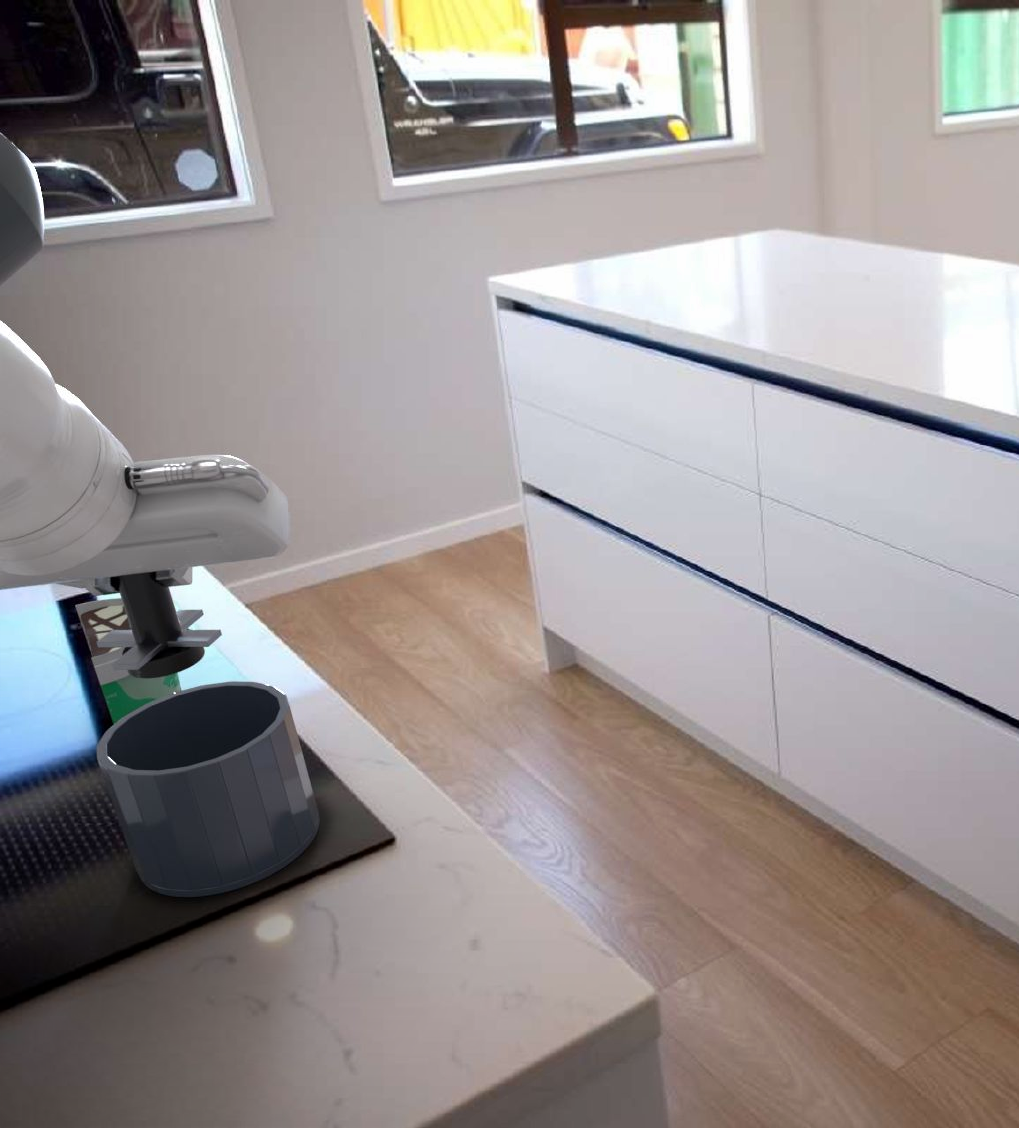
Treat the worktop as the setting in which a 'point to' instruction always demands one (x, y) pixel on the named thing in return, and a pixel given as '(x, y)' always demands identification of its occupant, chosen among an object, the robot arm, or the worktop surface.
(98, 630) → the food container
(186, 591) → the worktop surface
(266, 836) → the processor bowl
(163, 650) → the blade unit
